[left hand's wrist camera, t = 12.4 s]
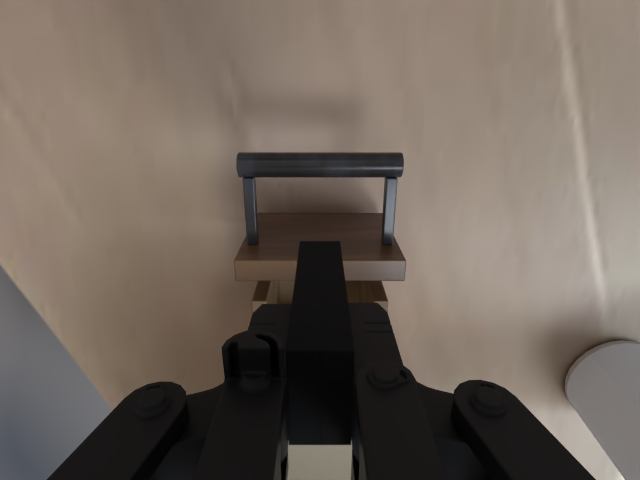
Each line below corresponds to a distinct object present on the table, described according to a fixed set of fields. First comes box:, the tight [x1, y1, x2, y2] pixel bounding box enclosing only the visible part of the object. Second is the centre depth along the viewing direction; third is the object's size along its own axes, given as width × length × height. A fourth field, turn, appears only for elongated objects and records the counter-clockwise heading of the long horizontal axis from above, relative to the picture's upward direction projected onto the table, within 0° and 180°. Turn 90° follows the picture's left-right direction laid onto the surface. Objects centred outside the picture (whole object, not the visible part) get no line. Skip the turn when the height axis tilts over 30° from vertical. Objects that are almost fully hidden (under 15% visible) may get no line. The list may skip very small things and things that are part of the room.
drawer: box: [234, 152, 406, 313], centre depth 26 cm, size 21×9×8 cm, turn 0°
